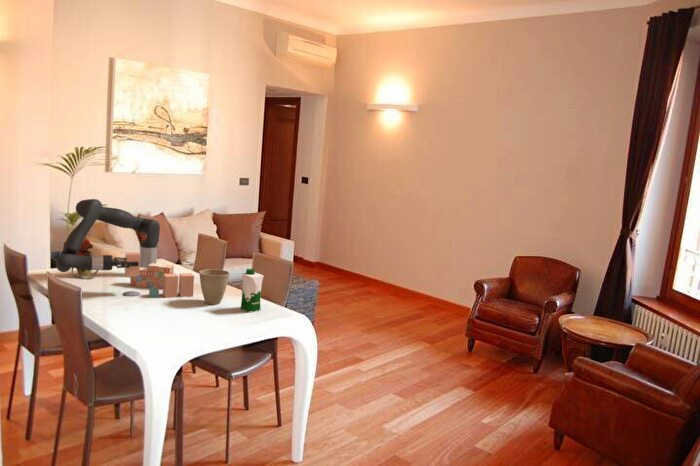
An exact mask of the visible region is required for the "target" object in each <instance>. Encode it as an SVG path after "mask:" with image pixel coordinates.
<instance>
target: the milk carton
mask: <svg viewBox="0 0 700 466" xmlns="http://www.w3.org/2000/svg"><path fill="white" fill-rule="evenodd" d="M241 275H242V276H241V277H242V278H241V279H242V289H241V290H242V292H241V301H240V309H241V310H243V309H244V310H243V311H245V310H247V311H246V312H248V311H253V312H256V311H255V310H258V311H260V310H261V298H262V297H261V296H262V295H261V294H262V283H263V280H264V276H265V275H263V274H261V273H257V272H255V269H254V268H246V271H245V272H244V273H242V274H241ZM259 309H260V310H259Z"/></svg>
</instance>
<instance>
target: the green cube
mask: <svg viewBox="0 0 700 466" xmlns="http://www.w3.org/2000/svg"><path fill="white" fill-rule="evenodd" d="M148 288H149V290H148V297H149V298H151V299H153V298H159V297H160V296H159V295H160V290H159V288H150V287H148Z"/></svg>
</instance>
